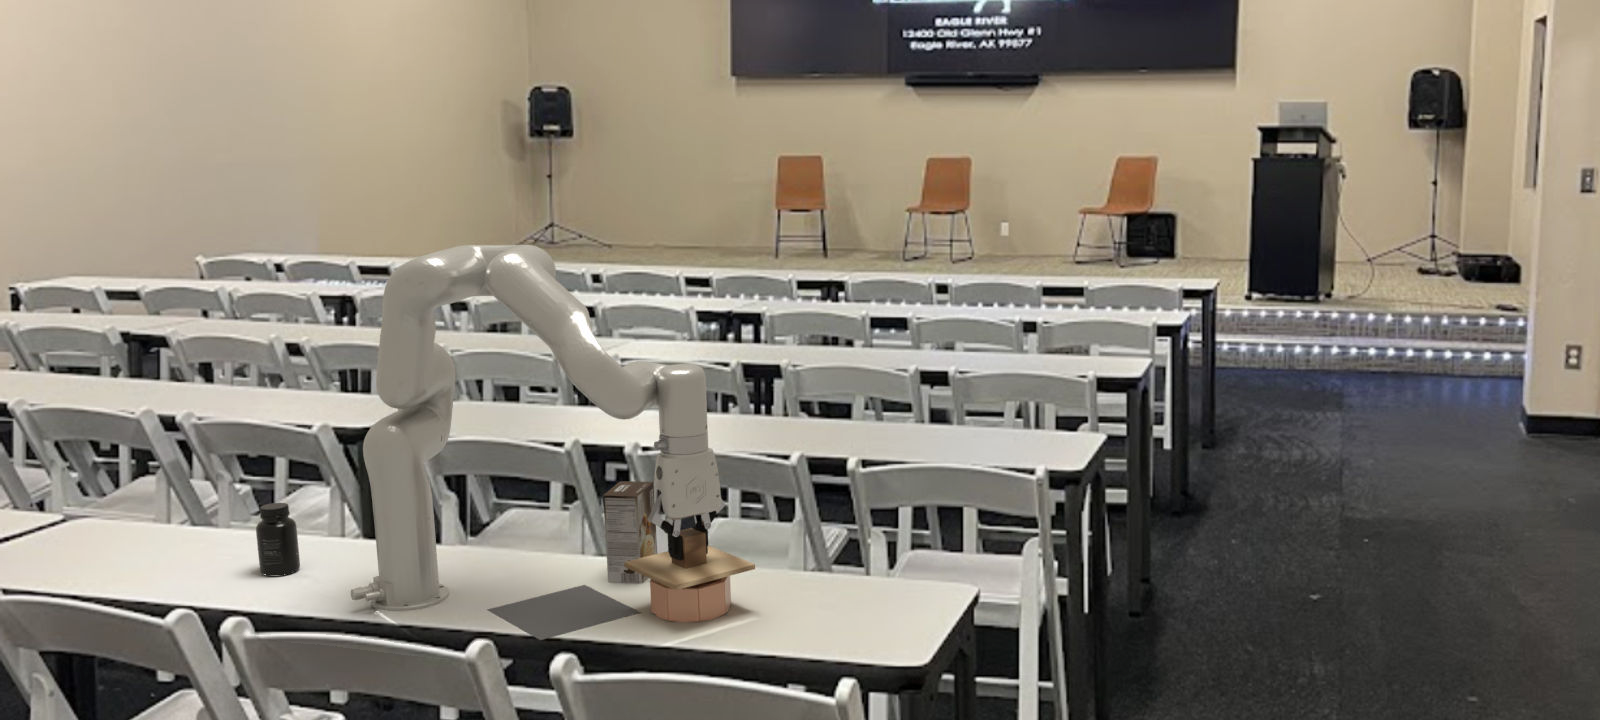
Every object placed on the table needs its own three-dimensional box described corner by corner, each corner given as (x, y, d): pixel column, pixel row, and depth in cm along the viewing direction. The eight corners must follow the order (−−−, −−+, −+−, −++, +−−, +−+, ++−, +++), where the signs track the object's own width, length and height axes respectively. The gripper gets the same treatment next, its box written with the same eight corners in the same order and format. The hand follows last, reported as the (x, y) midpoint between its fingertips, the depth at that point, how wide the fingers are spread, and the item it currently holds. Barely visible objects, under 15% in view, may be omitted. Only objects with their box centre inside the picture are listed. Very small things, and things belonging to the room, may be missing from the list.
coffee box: (624, 568, 268) (619, 479, 265) (659, 570, 267) (654, 480, 264) (607, 586, 259) (602, 494, 256) (643, 587, 258) (638, 495, 255)
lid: (675, 590, 234) (674, 553, 232) (624, 566, 245) (622, 532, 244) (755, 569, 242) (754, 533, 241) (702, 547, 254) (700, 513, 253)
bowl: (680, 631, 237) (679, 594, 236) (639, 611, 246) (638, 575, 245) (743, 613, 244) (742, 577, 243) (701, 594, 254) (700, 559, 252)
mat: (540, 643, 233) (540, 639, 233) (487, 613, 248) (487, 609, 247) (641, 615, 244) (641, 612, 244) (584, 588, 258) (584, 584, 258)
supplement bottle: (308, 568, 273) (302, 503, 271) (277, 579, 267) (271, 513, 265) (283, 562, 277) (277, 498, 274) (251, 573, 271) (245, 508, 269)
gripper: (651, 456, 232) (656, 572, 236) (741, 438, 242) (745, 550, 246) (625, 448, 238) (631, 561, 241) (714, 430, 248) (718, 539, 251)
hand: (688, 554), depth 243 cm, fingers closed on lid, 3 cm apart
